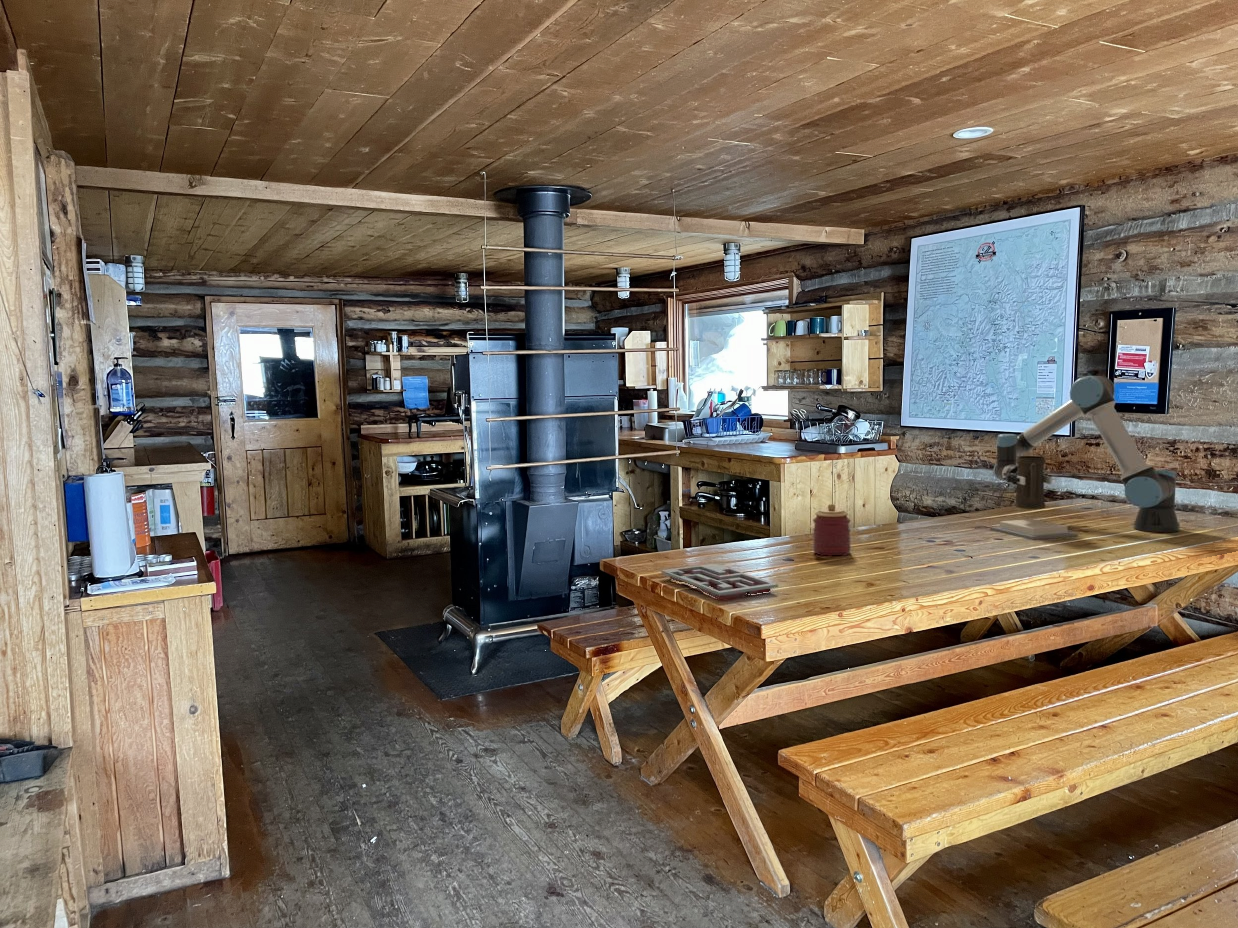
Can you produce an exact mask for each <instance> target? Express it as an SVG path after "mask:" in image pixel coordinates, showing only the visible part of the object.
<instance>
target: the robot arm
mask: <svg viewBox="0 0 1238 928" xmlns="http://www.w3.org/2000/svg"><path fill="white" fill-rule="evenodd" d="M1115 388H1116V387H1115V385H1114V382H1112V380H1111V379H1110V378H1108V377H1107V376H1103V375H1094V376H1093V375H1086V376H1082V377H1080V378H1078V379H1076V380H1075V381H1074V382H1073V383H1072V385H1071V387H1070V390H1069V396H1070V400H1068V401H1067V402H1065V403H1064V404H1062V405H1060V406H1059V407H1058V408H1056V409H1054V410H1053V411H1052V412H1051V413H1049V414H1048V415H1046V416H1044V417H1043V418H1042V419H1040V420H1039V421H1038V422H1036V423H1034V424H1033V425H1032V426H1030V427H1028V429H1026V430H1025V431H1023V432H1021V433H1020V434H1018V435H1017V434H1014V433H1002V434H1001V433H1000V434H998V435H997V440H996V441H997V442H996V464H994V467H993V470H992V472H993V475H994V477H995V478H997V479H999V480H1000V481H1004V482H1007V483H1010V484H1011V485H1016V486H1017V483H1019V484H1022V485H1025V477H1021V476H1017V475H1018V464H1017V458H1018V456H1025V455H1026V454H1028V453H1030V452H1031V451H1032V449H1034V448H1035V447H1036V446H1037V445H1039V444H1040V443H1042V442H1044V441H1045V440H1047V439H1048V438H1050V437H1051V436H1053V435H1055V433H1057V432H1059V431H1060V430H1062V429H1063V428H1065V427H1066V426H1068V425H1069V424H1071V423H1072V422H1074V421H1075V420H1077V419H1079V418H1080V417H1081V416H1084V417H1087V418H1090V419H1091V421H1092V422H1093V424H1094V425H1095V427H1096V429H1097V431H1098V433H1099V435H1100V436H1101V438H1102V440H1103V442H1104V443H1105V445H1106V447H1107V449H1108V451H1109V452H1110V454H1111V456H1112V458H1113V459H1114V462H1115V463H1116V465H1117V467H1118V469H1119V471H1120V472H1121V477H1120V481H1121V483H1122V485H1123V486H1124V496H1125V498H1126V500H1127V501H1128V502H1129V503H1130V504H1132V505H1134V506H1135V507H1138V508H1139V509H1138V512H1137V514H1136V517H1135V520H1134V522H1133V529H1135V530H1136V531H1137V530H1139V531H1142V532H1151V533H1177V532H1179V531H1180V530H1181V529H1180V527H1181V525H1180V522H1178V517H1177V514H1176V508H1175V507H1176V481H1177V477H1176V472H1175V471H1173V470H1165V469H1164V470H1163V469H1162V470H1161V469H1155V467H1154V466H1153V465H1151V464H1148V463H1146V461H1145V459H1144V458H1143V456H1142V453H1140V451H1139V449H1138V447H1137V445H1136V444H1135V441H1134V440H1133V439H1132V437H1131V435H1130V433H1129V432H1128V430H1127V427H1126V426H1125V425H1124V423H1123V421H1122V419H1121V417H1120V416H1119V414H1118V412H1117V410H1116V409H1115V405H1116V403H1117V402H1116V399H1115V398H1114V396H1115V392H1116V391H1115ZM1043 481H1044V484H1048V485H1053V476H1052V474H1048V473H1043ZM1176 531H1177V532H1176Z"/></svg>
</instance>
